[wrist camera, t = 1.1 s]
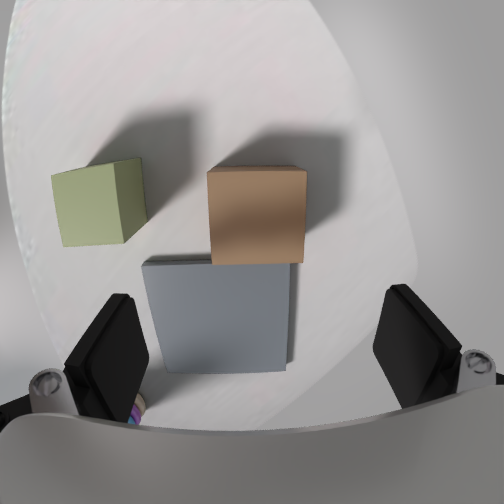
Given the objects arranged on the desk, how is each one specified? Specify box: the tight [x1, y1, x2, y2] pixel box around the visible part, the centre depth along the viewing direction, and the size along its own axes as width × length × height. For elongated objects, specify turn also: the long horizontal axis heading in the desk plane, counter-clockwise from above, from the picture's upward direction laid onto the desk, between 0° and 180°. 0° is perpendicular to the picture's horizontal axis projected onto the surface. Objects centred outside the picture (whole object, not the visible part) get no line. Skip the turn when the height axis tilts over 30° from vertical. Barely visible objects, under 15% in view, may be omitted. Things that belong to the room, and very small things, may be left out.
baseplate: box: [141, 260, 290, 374], centre depth 29 cm, size 14×14×1 cm
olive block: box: [51, 158, 148, 247], centre depth 22 cm, size 6×6×6 cm
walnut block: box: [207, 166, 307, 265], centre depth 23 cm, size 7×7×5 cm
